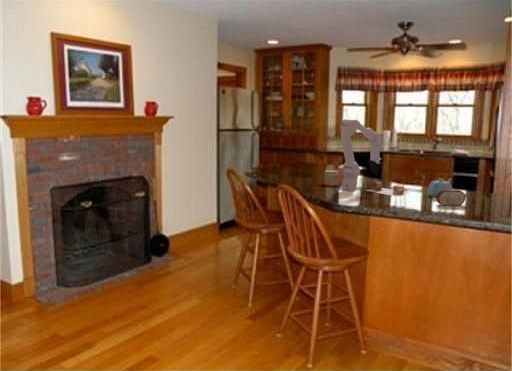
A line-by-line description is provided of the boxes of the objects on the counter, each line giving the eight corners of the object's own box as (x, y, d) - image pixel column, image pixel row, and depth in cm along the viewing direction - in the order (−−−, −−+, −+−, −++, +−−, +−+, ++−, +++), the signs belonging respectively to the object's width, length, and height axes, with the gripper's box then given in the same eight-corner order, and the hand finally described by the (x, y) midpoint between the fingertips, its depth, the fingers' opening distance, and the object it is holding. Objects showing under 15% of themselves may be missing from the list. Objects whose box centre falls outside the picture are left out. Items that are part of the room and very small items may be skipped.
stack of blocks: (324, 185, 294) (325, 167, 292) (324, 183, 300) (325, 165, 298) (357, 186, 291) (358, 167, 289) (356, 184, 297) (357, 166, 295)
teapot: (460, 179, 256) (443, 181, 246) (459, 197, 258) (441, 200, 248) (441, 176, 266) (423, 178, 256) (439, 193, 268) (421, 196, 258)
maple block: (403, 193, 263) (404, 186, 262) (399, 194, 260) (399, 187, 259) (397, 192, 267) (397, 185, 266) (392, 193, 264) (393, 186, 263)
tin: (462, 204, 237) (464, 189, 236) (465, 205, 234) (467, 190, 233) (435, 204, 237) (436, 189, 235) (437, 205, 234) (439, 190, 232)
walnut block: (381, 189, 275) (382, 182, 274) (377, 190, 272) (377, 183, 271) (375, 188, 278) (376, 181, 278) (371, 189, 276) (371, 182, 275)
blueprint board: (410, 193, 266) (410, 192, 266) (395, 196, 256) (395, 195, 256) (379, 188, 283) (379, 187, 283) (364, 191, 273) (364, 190, 273)
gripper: (384, 153, 275) (384, 174, 278) (378, 150, 289) (377, 170, 292) (373, 153, 275) (372, 174, 278) (367, 150, 290) (367, 170, 292)
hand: (374, 172), depth 285 cm, fingers open, 7 cm apart
